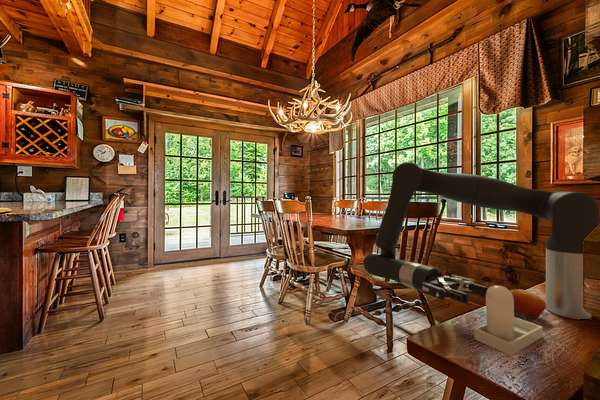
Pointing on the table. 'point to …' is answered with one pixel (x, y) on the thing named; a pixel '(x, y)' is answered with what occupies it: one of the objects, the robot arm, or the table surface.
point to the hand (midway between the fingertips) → (478, 295)
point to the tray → (522, 336)
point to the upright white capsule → (500, 313)
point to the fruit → (527, 304)
